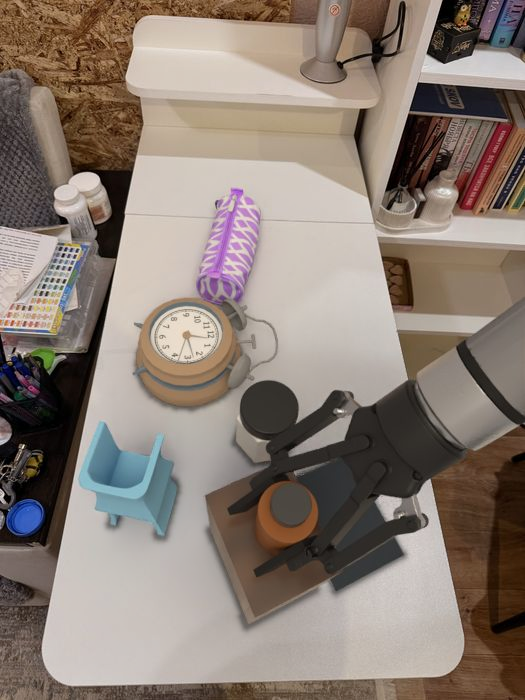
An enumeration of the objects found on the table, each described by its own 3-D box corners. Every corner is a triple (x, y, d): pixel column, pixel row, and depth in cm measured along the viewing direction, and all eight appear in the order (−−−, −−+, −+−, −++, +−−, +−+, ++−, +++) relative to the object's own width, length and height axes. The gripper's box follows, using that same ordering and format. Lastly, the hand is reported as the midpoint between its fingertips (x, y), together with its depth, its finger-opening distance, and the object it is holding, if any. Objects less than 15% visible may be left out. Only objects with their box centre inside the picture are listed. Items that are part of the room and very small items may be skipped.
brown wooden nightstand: (315, 588, 70) (343, 570, 52) (248, 624, 67) (255, 617, 50) (273, 501, 75) (286, 458, 58) (210, 530, 73) (204, 495, 55)
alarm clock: (130, 289, 81) (273, 282, 84) (139, 320, 89) (269, 314, 92) (126, 385, 73) (286, 375, 75) (136, 410, 81) (280, 401, 83)
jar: (280, 472, 77) (288, 445, 67) (229, 454, 78) (230, 425, 68) (297, 420, 82) (307, 387, 71) (249, 404, 83) (252, 369, 72)
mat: (403, 555, 72) (404, 554, 72) (336, 591, 70) (336, 591, 69) (347, 455, 79) (347, 454, 79) (284, 484, 76) (284, 483, 76)
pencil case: (215, 217, 103) (214, 180, 94) (261, 223, 102) (264, 187, 94) (195, 307, 92) (192, 274, 83) (246, 314, 91) (248, 281, 83)
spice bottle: (316, 541, 54) (334, 519, 44) (268, 565, 52) (276, 548, 43) (292, 492, 56) (304, 461, 46) (245, 514, 55) (249, 487, 45)
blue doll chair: (179, 481, 76) (165, 433, 59) (164, 536, 72) (144, 502, 55) (128, 470, 76) (98, 420, 59) (110, 524, 72) (73, 487, 55)
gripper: (525, 514, 40) (312, 622, 50) (397, 330, 48) (236, 455, 58) (504, 531, 34) (267, 650, 44) (362, 317, 42) (189, 459, 52)
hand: (250, 539), depth 51 cm, fingers closed on spice bottle, 6 cm apart
